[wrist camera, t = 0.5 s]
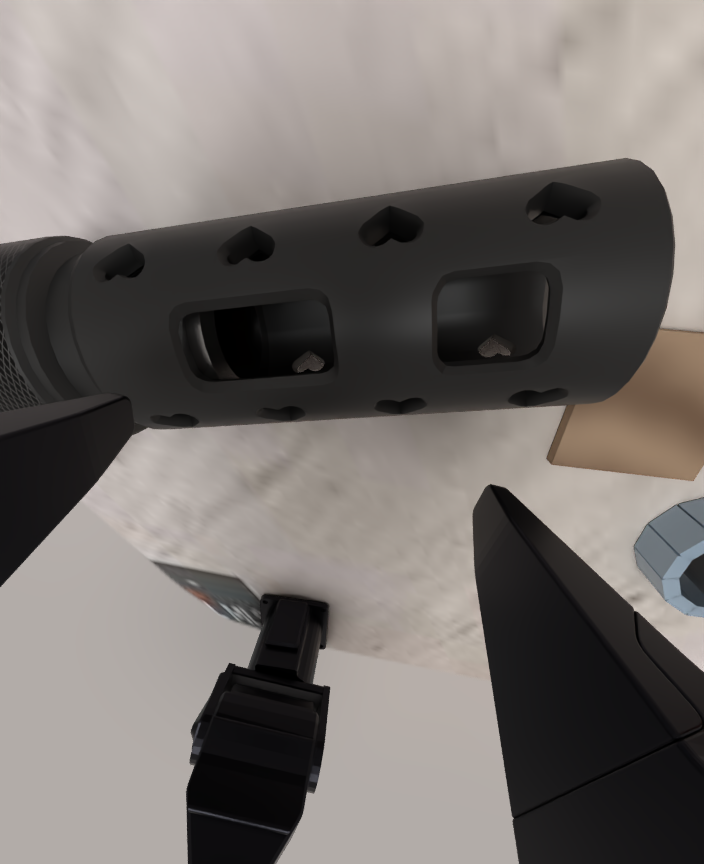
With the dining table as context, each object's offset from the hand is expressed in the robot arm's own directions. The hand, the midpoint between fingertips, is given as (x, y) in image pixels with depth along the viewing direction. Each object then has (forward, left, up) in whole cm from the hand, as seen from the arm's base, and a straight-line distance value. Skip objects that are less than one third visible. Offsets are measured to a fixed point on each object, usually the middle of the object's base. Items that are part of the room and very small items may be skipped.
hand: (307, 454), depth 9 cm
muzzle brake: (+1, +4, -15) cm, 15 cm away
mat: (-2, -18, -14) cm, 23 cm away
